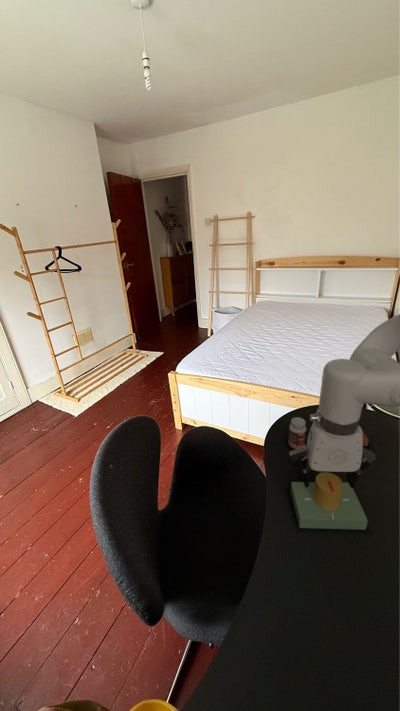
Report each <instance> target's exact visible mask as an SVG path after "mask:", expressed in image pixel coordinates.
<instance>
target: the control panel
mask: <svg viewBox="0 0 400 711" xmlns="http://www.w3.org/2000/svg"><path fill="white" fill-rule="evenodd" d="M342 483H343V489H342V495H341V501H340V505H339V507H338V508H337V509H335V510H326V509H323V508H321V507H320V506H319V505H317V503H316V502H315V500H314V489H315V481H309V487H305V485H304V482H303V481H291V482H290V493H291V497H292V502H293V508H294V511H295V515H296V520H297V523H298V528H299V529H321V530H322V529H326V530H364V531H365V530H366V529H367V526H368V522H369V520H368V518H367V515H366V514H365V511H364V509H363V507H362V505H361V502H360V500H359V498H358V496H357V494H356V492H355V489H354V488H351V487H350V485H349V483H348V482H347V481H346V482H343V481H342Z"/></svg>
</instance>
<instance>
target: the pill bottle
mask: <svg viewBox="0 0 400 711" xmlns="http://www.w3.org/2000/svg"><path fill="white" fill-rule="evenodd" d="M306 424H307V423H306V420H305V419H304V418H302V417H299V416H298V417H297V416H296V417H292V419H290V424H289V428H288V445H289V446H290V447H291V448H292V449H294V450H295V449H298V448H301V447H303V446H306V436H307V426H306Z"/></svg>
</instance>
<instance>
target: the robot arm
mask: <svg viewBox="0 0 400 711" xmlns="http://www.w3.org/2000/svg"><path fill="white" fill-rule="evenodd" d="M399 350H400V313H398V314H396V315H395V316H392V317H391V318H388V319H387V320H385V321H383V322H382V323H381V324H379V325H378V326H376V327H375V328H373V329H372V330H371V331H370V333H368V335H366V336H365V338H363V340H362V341H361V342H360V343H359V344H358V346H357V347H356V348H355V349H354V350H353V352H352V353H351V354H350V357H349V359H348V358H347V359H346V358H336V359H332V360H329V361H327V363H325V365H324V366H323V370H322V375H321V385H320V393H319V400H318V401H319V402H318V408H317V409H316V413H313V414H310V415H309V420H310V422H312V424H311V427H310V429H309V433H308V436H307V440H306V444H305V446H303V447H301V448H298V449H295V448H294V449H292V450H290V451H289V457H290V459H291V461H292V462H293V464H294V466H295V467H296V468H298V469H299V470H300V472H299V478H300V482H304V485H305V487H309V482H310V479H311V473H310V471H315V472H329V473H332V472H336V473H337V472H338V473H339V472H340V473H341V472H342V473H346V475H345V478H346V482H347V483H349V485H350V487H351V488H353V489H355V488H356V484H357V483H358V482H359V481H358V480H359V476H360V475H362V474H363V471H364V470H366V469H368V468H369V467H370V466H371V464H372V463H373V462H374V461H375V460H376V459H377V456H376V454H375V452H373V451H371V450H369V449H367V448H364V446H363V434H362V430H363V428H362V427H361V425H360V421H361V415H362V411H363V405H364V404H366V405H373V406H381V407H389V408H398V407H400V361H399V362H398V361H397V360H396V359H394V358H393V356H394V355H395V354H396V353H397V352H398V351H399ZM304 456H305V457H304ZM301 457H303V458H302V459H301Z"/></svg>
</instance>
